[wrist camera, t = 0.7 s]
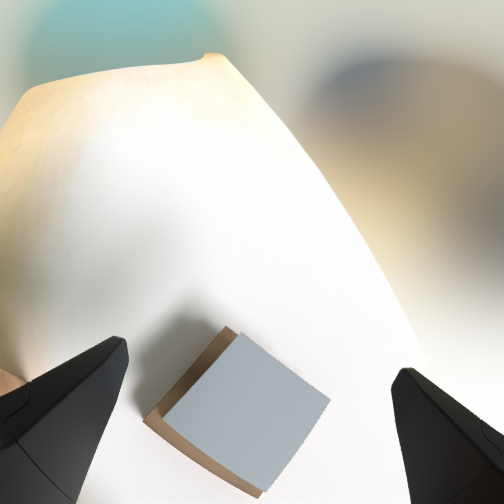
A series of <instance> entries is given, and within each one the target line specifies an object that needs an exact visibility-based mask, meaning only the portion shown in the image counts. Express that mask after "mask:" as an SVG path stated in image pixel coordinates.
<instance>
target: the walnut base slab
mask: <svg viewBox="0 0 504 504" xmlns="http://www.w3.org/2000/svg"><path fill="white" fill-rule="evenodd" d="M237 336H238V335H237V334H236V333H235V332H233V331H232V330H231V329H229V328H228V327H227V326H225V327H224V329H223V330H222V331H221V332H220V333H219V335H218V336H217V337H216V338H215V339H214V340H213V342H212V343H211V344H210V345H209V346H208V347H207V349H206V350H205V351H204V352H203V353H202V354H201V356H200V357H199V358H198V359H197V360H196V361H195V363H194V364H193V365H192V366H191V367H190V368H189V370H188V371H187V372H186V373H185V374H184V375H183V376H182V378H181V379H180V380H179V381H178V382H177V383H176V384H175V386H174V387H173V388H172V389H171V390H170V391H169V392H168V393H167V395H166V396H165V397H164V398H163V399H162V400H161V401H160V403H159V404H158V405H157V406H156V407H155V408H154V409H153V410H152V411H151V413H150V414H149V415H148V416H147V417H146V418H145V419H144V420H143V421H142V422H143V423H145V424H146V425H147V426H148V427H149V428H151V429H152V430H153V431H154V432H156V433H157V434H158V435H159V436H161V437H162V438H163V439H164V440H166V441H167V442H168V443H170V444H171V445H172V446H174V447H175V448H176V449H178V450H179V451H180V452H182V453H183V454H185V455H186V456H187V457H189V458H190V459H192V460H193V461H195V462H196V463H198V464H199V465H201V466H202V467H204V468H205V469H207V470H208V471H210V472H211V473H213V474H215V475H216V476H218V477H219V478H221V479H223V480H224V481H226V482H228V483H229V484H231V485H233V486H235V487H236V488H238V489H240V490H242V491H244V492H245V493H247V494H249V495H251V496H253V497H255V498H257V499H258V498H259V496H260V495H261V494H262V493H263V491H262V490H260V489H259V488H257V487H255V486H254V485H252V484H250V483H249V482H247V481H245V480H244V479H242V478H240V477H239V476H237V475H236V474H234V473H233V472H231V471H230V470H228V469H227V468H225V467H224V466H222V465H221V464H219V463H218V462H216V461H215V460H213V459H212V458H211V457H209V456H208V455H206V454H205V453H204V452H202V451H201V450H200V449H198V448H197V447H196V446H194V445H193V444H192V443H190V442H189V441H188V440H187V439H185V438H184V437H183V436H182V435H180V434H179V433H178V432H177V431H175V430H174V429H173V428H172V427H171V426H169V425H168V424H167V423H166V422H165V421H163V420H162V418H163V417H164V416H165V415H166V414H167V413H168V412H169V411H170V410H171V409H172V408H173V407H174V406H175V405H176V404H177V402H178V401H179V400H180V399H181V398H182V397H183V396H184V395H185V394H186V393H187V392H188V391H189V390H190V388H191V387H192V386H193V385H194V384H195V383H196V382H197V381H198V380H199V379H200V378H201V376H202V375H203V374H204V373H205V372H206V371H207V370H208V369H209V368H210V367H211V365H212V364H213V363H214V362H215V361H216V360H217V359H218V358H219V356H220V355H221V354H222V353H223V352H224V351H225V350H226V349H227V347H228V346H229V345H230V344H231V343H232V342H233V341H234V339H235V338H236V337H237Z"/></svg>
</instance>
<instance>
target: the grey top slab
mask: <svg viewBox="0 0 504 504" xmlns="http://www.w3.org/2000/svg"><path fill="white" fill-rule="evenodd" d="M330 400H331V399H329V398H328V397H326V396H325V395H324V394H322V393H321V392H319V391H318V390H317V389H315V388H314V387H313V386H311V385H310V384H308V383H307V382H306V381H304V380H303V379H302V378H300V377H299V376H297V375H296V374H295V373H293V372H292V371H291V370H289V369H288V368H287V367H285V366H284V365H283V364H282V363H280V362H279V361H278V360H276V359H275V358H274V357H272V356H271V355H270V354H268V353H267V352H266V351H265V350H263V349H262V348H261V347H260V346H258V345H257V344H256V343H254V342H253V341H252V340H251V339H249V338H248V337H247V336H246V335H244V334H243V333H242V332H241V333H240V334H239V335H238V336H237V337H236V338H235V339H234V341H233V342H232V343H231V344H230V345H229V346H228V347H227V349H226V350H225V351H224V352H223V353H222V354H221V355H220V356H219V358H218V359H217V360H216V361H215V362H214V363H213V364H212V365H211V367H210V368H209V369H208V370H207V371H206V372H205V373H204V374H203V375H202V376H201V378H200V379H199V380H198V381H197V382H196V383H195V384H194V385H193V386H192V387H191V388H190V390H189V391H188V392H187V393H186V394H185V395H184V396H183V397H182V398H181V399H180V400H179V401H178V402H177V404H176V405H175V406H174V407H173V408H172V409H171V410H170V411H169V412H168V413H167V414H166V415H165V416H164V417H163V418H162V420H163V421H165V422H166V423H167V424H168V425H169V426H171V427H172V428H173V429H174V430H175V431H177V432H178V433H179V434H180V435H182V436H183V437H184V438H185V439H187V440H188V441H189V442H190V443H192V444H193V445H194V446H196V447H197V448H198V449H200V450H201V451H202V452H204V453H205V454H206V455H208V456H209V457H211V458H212V459H213V460H215V461H216V462H218V463H219V464H221V465H222V466H224V467H225V468H227V469H228V470H230V471H231V472H233V473H234V474H236V475H237V476H239V477H240V478H242V479H244V480H245V481H247V482H249V483H250V484H252V485H254V486H255V487H257V488H259V489H260V490H262V491H264V492H266V491H267V490H268V489H269V488H270V486H271V485H272V484H273V483H274V481H275V480H276V479H277V477H278V476H279V475H280V474H281V472H282V471H283V470H284V468H285V467H286V466H287V464H288V463H289V462H290V460H291V459H292V458H293V456H294V455H295V453H296V452H297V451H298V449H299V448H300V446H301V445H302V443H303V442H304V441H305V439H306V438H307V436H308V435H309V433H310V432H311V430H312V429H313V427H314V426H315V424H316V422H317V421H318V419H319V418H320V416H321V415H322V413H323V411H324V410H325V408H326V407H327V405H328V403H329V402H330Z"/></svg>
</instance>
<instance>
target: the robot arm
mask: <svg viewBox="0 0 504 504" xmlns="http://www.w3.org/2000/svg"><path fill="white" fill-rule="evenodd" d="M128 362H129V356H128V349H127V343H126V340H125V339H124V338H121V337H117V336H112V337H110V338H108V339H106V340H105V341H103V342H101V343H99V344H97V345H95V346H94V347H92V348H90V349H88V350H86V351H85V352H83V353H81V354H79V355H77V356H75V357H74V358H72V359H70V360H68V361H66V362H65V363H63V364H61V365H59V366H57V367H55V368H54V369H52V370H50V371H48V372H46V373H44V374H43V375H41V376H39V377H37V378H35V379H33V380H32V381H31V382H28V383H26V384H24V385H22V386H20V387H18V388H16V389H14V390H13V391H11V392H8V393H6V394H4V395H2V396H0V504H76V502H77V499H78V496H79V494H80V491H81V488H82V485H83V483H84V480H85V477H86V475H87V472H88V470H89V467H90V464H91V462H92V459H93V457H94V454H95V452H96V449H97V447H98V444H99V442H100V439H101V437H102V435H103V432H104V430H105V427H106V425H107V423H108V420H109V418H110V416H111V413H112V411H113V409H114V406H115V404H116V401H117V398H118V395H119V392H120V388H121V385H122V382H123V379H124V376H125V372H126V369H127V366H128ZM391 394H392V400H393V407H394V415H395V422H396V428H397V433H398V438H399V442H400V447H401V451H402V456H403V461H404V466H405V471H406V476H407V482H408V488H409V494H410V500H411V504H504V435H502V434H501V433H500V432H498V431H496V430H495V429H494V428H492V427H491V426H490V425H488V424H487V423H486V422H484V421H483V420H480V418H479V417H477V416H476V415H475V414H473V413H472V412H471V411H470V410H468V409H467V408H466V407H464V406H463V405H462V404H460V403H459V402H457V401H456V400H455V399H454V398H452V397H451V396H450V395H448V394H447V393H446V392H444V391H443V390H442V389H440V388H439V387H438V386H436V385H435V384H434V383H432V382H431V381H430V380H428V379H427V378H426V377H424V376H423V375H422V374H420V373H419V372H418V371H416V370H415V369H414V368H402V369H401V370H400V371H399V373H398V375H397V377H396V378H395V380H394V382H393V384H392V386H391Z"/></svg>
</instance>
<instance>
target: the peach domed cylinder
mask: <svg viewBox="0 0 504 504" xmlns="http://www.w3.org/2000/svg"><path fill="white" fill-rule="evenodd" d="M24 384H26V382H25V381H23V380H22V379H20V378H18V377H16V376H14V375H12V374H10V373H8V372H6V371H4V370H2V369H0V396H2V395H4V394H6V393H8V392H11V391H13V390H14V389H16V388H18V387H20V386H22V385H24Z"/></svg>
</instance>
